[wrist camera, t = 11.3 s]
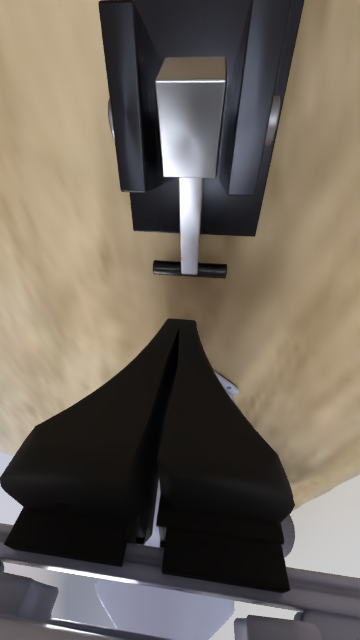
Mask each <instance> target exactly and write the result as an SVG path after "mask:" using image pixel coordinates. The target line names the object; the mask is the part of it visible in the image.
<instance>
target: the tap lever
mask: <svg viewBox="0 0 360 640" xmlns="http://www.w3.org/2000/svg"><path fill="white" fill-rule="evenodd" d="M154 87H155V98H156V109H157V120H158V131H159V142H160V153H161V164H162V175H163V177H178V191H179V220H180V250H181V262H177V261H159V260H155V261H154V263H153V273H154V274H158V275H174V276H191V277H208V278H224V279H225V278H226V274H227V264H213V263H198V258H199V242H200V225H201V209H202V193H203V178H216V176H217V169H218V159H219V150H220V141H221V132H222V123H223V114H224V105H225V96H226V87H227V59H226V57H168V58H165V59H164V61H163V63H162V65H161V67H160V69H159V72H158V74H157V76H156V78H155V80H154Z"/></svg>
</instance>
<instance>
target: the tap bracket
mask: <svg viewBox="0 0 360 640" xmlns="http://www.w3.org/2000/svg"><path fill="white" fill-rule="evenodd" d="M303 4H304V0H101V1H99V13H100V21H101V29H102V38H103V46H104V54H105V63H106V71H107V79H108V88H109V96H110V98H109V102H108V117H109V124H110V128H111V132H112V135H113V138H114V140H115V146H116V154H117V163H118V171H119V180H120V188H121V191H122V192H130V200H131V210H132V220H133V230H134V231H144V232H166V233H180V220H179V191H178V177H163V175H162V164H161V153H160V142H159V131H158V120H157V109H156V98H155V87H154V80H155V78H156V76H157V74H158V72H159V69H160V67H161V65H162V63H163V61H164V59H165V58H168V57H226V59H227V87H226V96H225V105H224V114H223V123H222V132H221V141H220V150H219V159H218V169H217V176H216V178H203V193H202V209H201V225H200V234H210V235H232V236H255V234H256V230H257V225H258V220H259V215H260V211H261V206H262V201H263V196H264V191H265V187H266V182H267V177H268V172H269V167H270V163H271V158H272V153H273V148H274V143H275V139H276V134H277V129H278V124H279V119H280V115H281V110H282V105H283V100H284V95H285V91H286V86H287V81H288V76H289V71H290V67H291V62H292V57H293V52H294V48H295V43H296V38H297V33H298V28H299V24H300V19H301V14H302V9H303Z"/></svg>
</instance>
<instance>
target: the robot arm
mask: <svg viewBox="0 0 360 640" xmlns="http://www.w3.org/2000/svg"><path fill="white" fill-rule="evenodd" d="M228 386H229V387H228ZM237 393H238V388H237V387H236V386H234V385H233V384H231V383H230V382H229V381H227V380H226V379H225V378H223V377H222V376H220V375H219V374H218V373H216V372H215V371H214V370H213V368H212V366H211V364H210V362H209V360H208V358H207V356H206V354H205V351H204V349H203V346H202V344H201V341H200V338H199V334H198V331H197V324H196V322H195V320H183V319H170V318H169V319H167V320H166V322H165V323H164V325H163V326H162V328H161V329H160V330H159V332H158V333H157V334H156V335H155V337H154V338H153V339H152V340H151V341H150V343H149V344H148V345H147V346H146V347H145V348H144V349H143V350H142V351H141V352H140V353H139V355H138V356H137V357H136V358H135V359H134V360H133V361H131V362H130V363H129V364H128V365H127V366H126V367H125V368H124V369H123V370H121V371H120V372H119V373H118V374H117V375H115V376H114V377H113V378H112V379H110V380H109V381H108V382H107V383H105V384H104V385H103V386H101V387H100V388H98V389H97V390H96V391H94V392H93V393H91V394H90V395H88V396H87V397H85V398H84V399H82V400H80V401H79V402H77V403H76V404H74V405H73V406H71V407H69V408H68V409H66V410H64V411H62V412H60V413H59V414H57V415H55V416H53V417H51V418H50V419H48V420H46V421H44V422H42V423H41V424H39V425H37V426H35V428H34V429H33V430H32V432H31V433H30V434H29V435H28V437H27V438H26V439H25V441H24V442H23V444H22V445H21V447H20V448H19V450H18V451H17V453H16V454H15V456H14V457H13V459H12V461H11V462H10V463H9V465H8V466H7V468H6V469H5V471H4V473H3V474H2V476H1V477H0V483H1V487H2V488H3V489H4V490H5V492H7V493H8V494H9V495H10V496H11V497H13V498H14V499H15V500H16V501H18V502H19V503H20V504H21V505H22V506H23V509H22V511H21V513H20V515H19V517H18V519H17V520H16V522H15V524H14V525H8V524H2V523H0V640H208V639H209V638H210V637H211V636H212V635H213V634H214V633H215V632H216V631H217V630H219V628H220V627H221V626H222V625H223V624H224V623H225V622H226V621H227V620H228V619H229V618H230V617H231V616H232V614H233V612H234V601H241V602H246V603H252V604H258V605H264V606H270V607H276V608H282V609H288V610H294V611H300V612H297V614H296V615H295V617H294V620H287V619H279V618H271V617H262V616H254V615H248V616H247V618H243V619H242V618H236V619H235V621H234V633H235V640H360V578H354V577H348V576H341V575H335V574H328V573H322V572H315V571H309V570H302V569H295V568H289V567H286V566H285V560H284V555H283V549H282V545H283V544H284V536H283V531H282V526H281V522H282V521H283V520H284V519H285V518H286V517H287V516H288V515H289V514H290V513H291V512H292V510H293V508H294V506H295V504H294V500H293V494H292V490H291V487H290V484H289V481H288V479H287V476H286V473H285V471H284V468H283V466H282V464H281V461H280V459H279V457H278V455H277V453H276V452H275V451H274V450H273V449H272V448H271V447H270V446H269V444H268V443H267V442H266V441H265V440H264V439H263V438H262V437H261V436H260V434H259V433H258V432H257V431H256V430H255V429H254V428H253V426H252V425H251V424H250V423H249V421H248V420H247V419H246V418H245V417H244V415H243V414H242V413H241V411H240V410H239V409H238V407H237V406H236V404H235V403H234V398H233V395H235V394H237ZM3 562H7V563H13V564H19V565H26V566H31V567H37V568H43V569H49V570H55V571H61V572H67V573H73V574H79V575H85V576H91V577H96V582H95V591H96V593H97V595H98V597H99V599H100V601H101V603H102V605H103V606H104V608H105V610H106V612H107V613H108V615H109V617H110V619H111V620H112V622H113V624H114V625H115V627H116V629H113V628H108V627H102V626H96V625H91V624H84V623H79V622H74V621H68V620H62V619H57V618H51V612H52V609H53V606H54V603H55V601H56V598H57V595H58V588H57V587H53V586H50V585H46V584H43V583H40V582H37V581H35V580H33V579H31V578H28V577H23V576H19V575H14V574H9V573H5V572H4V565H3Z"/></svg>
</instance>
